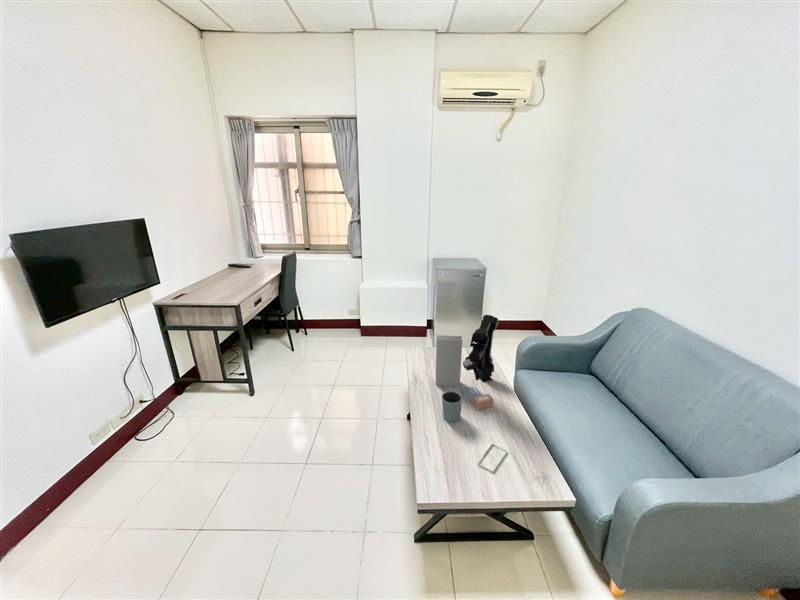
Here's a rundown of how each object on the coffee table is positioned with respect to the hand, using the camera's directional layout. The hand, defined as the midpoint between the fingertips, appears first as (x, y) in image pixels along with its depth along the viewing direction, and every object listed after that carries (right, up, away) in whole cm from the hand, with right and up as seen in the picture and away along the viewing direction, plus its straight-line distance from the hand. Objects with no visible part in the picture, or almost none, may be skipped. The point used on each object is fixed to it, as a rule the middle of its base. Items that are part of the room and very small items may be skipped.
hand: (477, 380), depth 180 cm
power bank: (-2, -25, -38) cm, 45 cm away
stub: (+2, -13, -4) cm, 14 cm away
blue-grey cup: (-16, -16, -12) cm, 26 cm away
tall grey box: (-14, -6, +18) cm, 23 cm away
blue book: (0, -10, +5) cm, 11 cm away
